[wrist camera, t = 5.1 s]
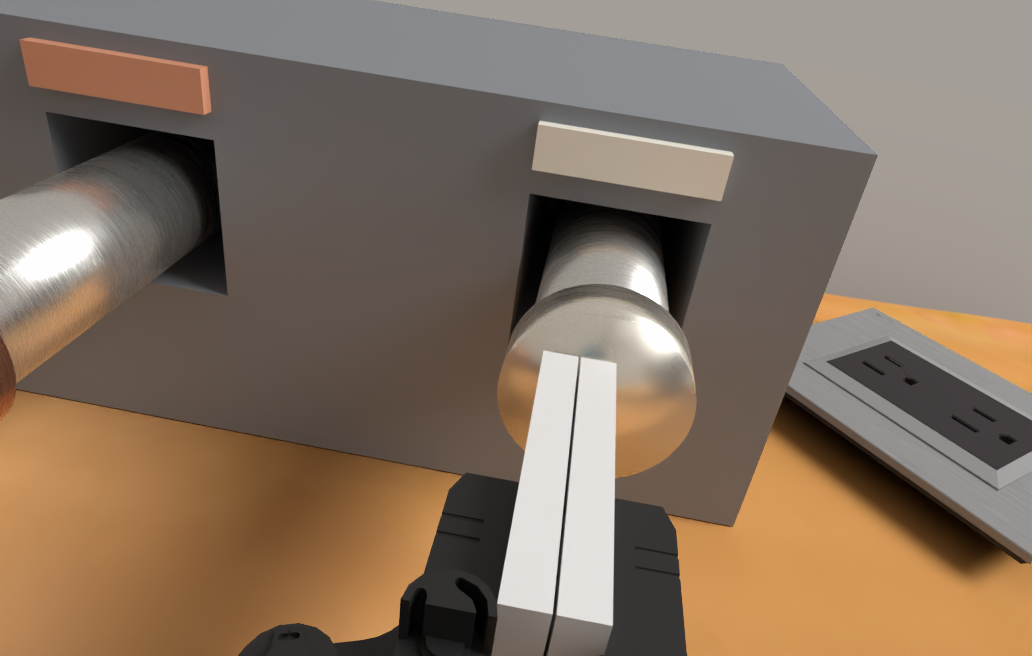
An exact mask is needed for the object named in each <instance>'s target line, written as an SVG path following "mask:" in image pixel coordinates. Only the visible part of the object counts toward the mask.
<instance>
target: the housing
mask: <svg viewBox="0 0 1032 656" xmlns="http://www.w3.org/2000/svg"><path fill="white" fill-rule="evenodd" d="M154 132H168V133H174V134H179V135H182V136H184V137H186V138H188V139H190V140H192V141H194V142H196V143H197V144H199V145H200V146H201V147H202V148H204V149H205V150H206V151H207V152H208V153H209V154H210V155H211V156H212V157H213V158H214V159H215V161H216V168H217V179H218V190H219V202H220V213H221V224H222V227H221V228H220V229H219V230H218V231H217V232H215V233H214V234H213V235H211V236H210V237H209V238H207V239H206V240H205V241H203V242H202V243H201V244H200V245H198V246H197V247H196V248H194V249H193V250H192V251H190V252H189V253H188V254H186V255H185V256H184V257H182V258H181V259H180V260H178V261H177V262H176V263H174V264H173V265H172V266H170V267H169V268H168V269H167V270H165V271H164V272H163V273H161V274H160V275H159V276H157V277H156V278H155V279H153V280H152V281H151V282H149V283H148V284H147V285H145V286H144V287H143V288H141V289H140V290H139V291H138V292H136V293H135V294H134V295H132V296H131V297H130V298H128V299H127V300H126V301H124V302H123V303H122V304H120V305H119V306H118V307H116V308H115V309H114V310H112V311H111V312H110V313H108V314H107V315H106V316H105V317H103V318H102V319H101V320H99V321H98V322H97V323H95V324H94V325H93V326H91V327H90V328H89V329H87V330H86V331H85V332H83V333H82V334H81V335H79V336H78V337H77V338H76V339H74V340H73V341H72V342H70V343H69V344H68V345H66V346H65V347H64V348H62V349H61V350H60V351H58V352H57V353H56V354H54V355H53V356H52V357H50V358H49V359H48V360H46V361H45V362H44V363H43V364H41V365H40V366H39V367H37V368H36V369H35V370H33V371H32V372H31V373H29V374H28V375H27V376H25V377H24V378H23V379H21V380H20V381H19V382H17V383H16V389H18V390H23V391H29V392H34V393H39V394H44V395H50V396H55V397H60V398H65V399H70V400H76V401H81V402H86V403H91V404H96V405H102V406H107V407H112V408H117V409H123V410H128V411H133V412H138V413H143V414H149V415H154V416H159V417H164V418H169V419H175V420H180V421H185V422H190V423H196V424H201V425H206V426H211V427H216V428H222V429H227V430H232V431H237V432H243V433H248V434H253V435H258V436H263V437H269V438H274V439H279V440H284V441H289V442H295V443H300V444H305V445H310V446H316V447H321V448H326V449H331V450H336V451H342V452H347V453H352V454H357V455H362V456H368V457H373V458H378V459H383V460H389V461H394V462H399V463H404V464H409V465H415V466H420V467H425V468H430V469H435V470H441V471H446V472H451V473H456V474H462V475H464V474H465V473H466V472H467V473H472V474H478V475H483V476H488V477H494V478H499V479H505V480H510V481H516V482H519V481H520V476H521V471H522V465H523V460H524V454H525V451H524V450H523V449H522V448H521V447H520V446H519V445H518V444H517V443H516V442H515V441H514V439H513V438H512V437H511V436H510V434H509V432H508V431H507V429H506V427H505V425H504V423H503V421H502V418H501V416H500V412H499V408H498V401H497V385H498V380H499V376H500V372H501V369H502V365H503V362H504V358H505V355H506V351H507V347H508V344H509V340H510V338H511V335H512V333H513V330H514V329H515V327H516V325H517V323H518V322H519V320H520V319H521V318H522V317H523V315H524V314H525V313H526V312H527V311H528V310H529V309H530V308H531V307H532V306H533V305H535V304H536V300H537V296H538V292H539V288H540V284H541V280H542V276H543V271H544V267H545V263H546V259H547V255H548V251H549V247H550V243H551V239H552V235H553V230H554V226H555V222H556V218H557V214H558V210H559V206H560V202H561V200H562V199H565V200H571V201H577V202H583V203H588V204H594V205H600V206H606V207H612V208H618V209H624V210H630V211H636V212H642V213H648V214H654V215H659V218H660V228H661V238H662V248H663V258H664V268H665V278H666V288H667V298H668V308H669V313H670V314H671V315H672V317H673V318H674V319H675V320H676V321H677V323H678V324H679V326H680V327H681V329H682V331H683V332H684V334H685V337H686V339H687V341H688V345H689V349H690V352H691V360H692V367H693V374H694V381H695V388H696V398H697V402H696V412H695V417H694V421H693V424H692V426H691V428H690V431H689V433H688V434H687V436H686V438H685V439H684V441H683V442H682V443H681V444H680V446H679V447H678V448H677V449H676V450H675V451H674V452H673V453H672V454H671V455H670V456H669V457H667V458H666V459H665V460H663V461H662V462H660V463H659V464H657V465H655V466H653V467H651V468H650V469H647V470H645V471H642V472H640V473H637V474H633V475H630V476H626V477H620V478H615V498H617V499H622V500H628V501H633V502H639V503H644V504H649V505H655V506H660V507H663V508H664V510H665V512H666V514H670V515H675V516H681V517H686V518H691V519H696V520H701V521H707V522H712V523H717V524H722V525H727V526H733V525H734V523H735V520H736V518H737V515H738V513H739V510H740V508H741V505H742V502H743V500H744V497H745V495H746V492H747V490H748V487H749V484H750V482H751V479H752V477H753V474H754V472H755V469H756V466H757V464H758V461H759V459H760V456H761V454H762V451H763V448H764V446H765V443H766V441H767V438H768V436H769V433H770V431H771V428H772V425H773V423H774V420H775V418H776V415H777V413H778V410H779V407H780V405H781V402H782V400H783V397H784V395H785V392H786V389H787V387H788V384H789V382H790V379H791V377H792V374H793V371H794V369H795V366H796V364H797V361H798V359H799V356H800V354H801V351H802V348H803V346H804V343H805V341H806V338H807V336H808V333H809V330H810V328H811V325H812V323H813V320H814V318H815V315H816V312H817V310H818V307H819V305H820V302H821V300H822V297H823V294H824V292H825V289H826V287H827V284H828V282H829V279H830V277H831V274H832V271H833V269H834V266H835V264H836V261H837V259H838V256H839V253H840V251H841V248H842V246H843V243H844V240H845V238H846V235H847V233H848V230H849V227H850V225H851V222H852V220H853V217H854V215H855V212H856V210H857V207H858V205H859V202H860V199H861V197H862V194H863V192H864V189H865V187H866V184H867V181H868V179H869V176H870V174H871V171H872V169H873V166H874V164H875V161H876V158H877V156H878V155H877V154H876V153H875V152H874V151H873V150H872V149H871V148H870V147H869V146H868V145H867V144H865V143H864V142H863V141H862V140H861V139H860V138H859V137H858V136H857V135H856V134H855V133H854V132H853V131H852V130H851V129H850V128H849V127H848V126H847V125H846V124H844V123H843V122H842V121H841V120H840V119H839V118H838V117H837V116H836V115H835V114H834V113H833V112H832V111H831V110H830V109H829V108H828V107H827V106H826V105H825V104H823V102H821V101H820V100H819V99H818V98H817V97H816V96H815V95H814V94H813V93H812V92H811V91H810V90H809V89H808V88H807V87H806V86H805V85H804V84H802V83H801V82H800V81H799V80H798V79H797V78H796V77H795V76H794V75H793V74H792V73H791V72H790V71H789V70H788V69H787V68H786V67H785V66H784V65H783V64H777V63H771V62H765V61H758V60H751V59H745V58H739V57H733V56H726V55H720V54H713V53H707V52H700V51H693V50H687V49H681V48H675V47H668V46H662V45H655V44H649V43H642V42H636V41H629V40H623V39H617V38H611V37H604V36H597V35H591V34H585V33H578V32H572V31H566V30H559V29H552V28H546V27H540V26H534V25H527V24H521V23H514V22H508V21H502V20H495V19H489V18H482V17H476V16H469V15H463V14H456V13H450V12H444V11H437V10H431V9H425V8H418V7H411V6H405V5H399V4H393V3H386V2H380V1H373V0H0V200H1V199H3V198H5V197H7V196H10V195H12V194H14V193H16V192H18V191H21V190H23V189H25V188H27V187H30V186H32V185H34V184H36V183H39V182H41V181H43V180H45V179H48V178H50V177H52V176H54V175H57V174H59V173H61V172H63V171H65V170H68V169H70V168H72V167H74V166H77V165H79V164H81V163H83V162H86V161H88V160H90V159H92V158H95V157H97V156H99V155H101V154H104V153H106V152H108V151H110V150H112V149H115V148H117V147H119V146H121V145H124V144H126V143H128V142H130V141H133V140H135V139H137V138H139V137H142V136H144V135H146V134H149V133H154Z"/></svg>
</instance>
